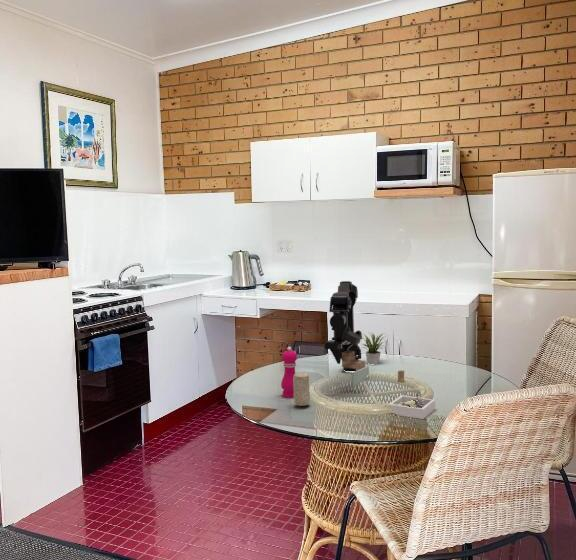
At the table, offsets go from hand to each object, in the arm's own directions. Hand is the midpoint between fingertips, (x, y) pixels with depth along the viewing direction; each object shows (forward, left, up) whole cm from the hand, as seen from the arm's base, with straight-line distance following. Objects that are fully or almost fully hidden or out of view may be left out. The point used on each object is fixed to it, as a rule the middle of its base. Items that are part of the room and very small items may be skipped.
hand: (341, 362), depth 251 cm
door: (+2, +22, -12) cm, 25 cm away
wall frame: (+2, +22, -12) cm, 25 cm away
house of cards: (+38, -8, -13) cm, 40 cm away
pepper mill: (-15, -15, -12) cm, 25 cm away
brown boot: (+6, 0, -1) cm, 6 cm away
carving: (-5, -24, -12) cm, 27 cm away
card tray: (+35, -12, -12) cm, 39 cm away
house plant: (-6, +48, -12) cm, 50 cm away
